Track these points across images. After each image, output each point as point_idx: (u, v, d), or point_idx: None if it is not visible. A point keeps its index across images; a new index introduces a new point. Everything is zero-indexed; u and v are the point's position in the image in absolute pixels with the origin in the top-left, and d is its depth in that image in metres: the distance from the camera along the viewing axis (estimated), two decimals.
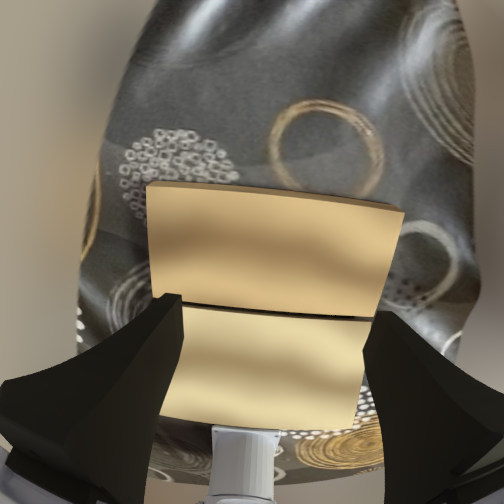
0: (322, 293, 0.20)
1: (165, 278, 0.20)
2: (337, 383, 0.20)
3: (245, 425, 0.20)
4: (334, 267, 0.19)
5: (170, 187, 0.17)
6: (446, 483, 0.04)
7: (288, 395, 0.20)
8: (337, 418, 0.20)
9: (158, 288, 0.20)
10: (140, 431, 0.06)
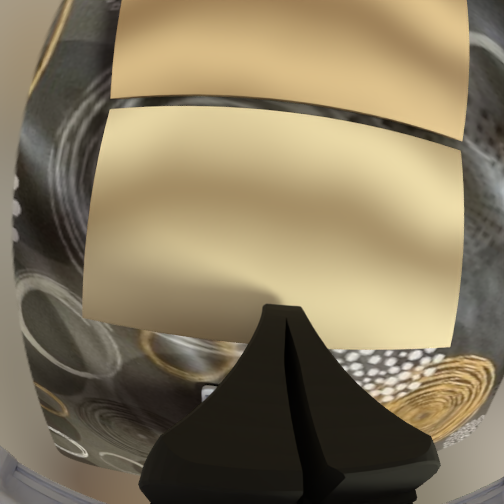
0: (388, 80, 0.10)
1: (134, 59, 0.10)
2: (429, 250, 0.11)
3: None
4: (399, 40, 0.09)
5: None
6: None
7: (348, 270, 0.11)
8: (430, 325, 0.11)
9: (121, 79, 0.10)
10: None
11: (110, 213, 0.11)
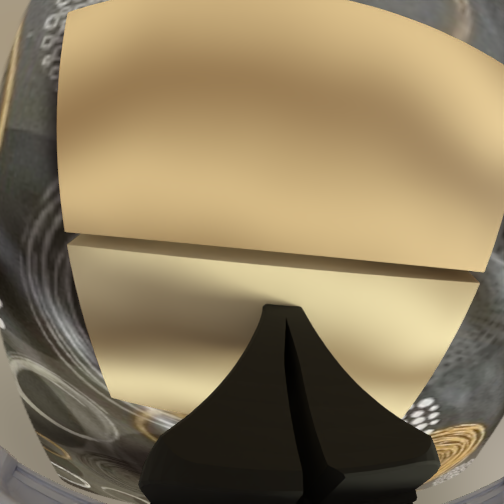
0: (412, 216, 0.08)
1: (82, 185, 0.09)
2: (402, 372, 0.12)
3: None
4: (435, 155, 0.08)
5: (108, 2, 0.06)
6: None
7: None
8: None
9: (72, 211, 0.09)
10: None
11: (109, 344, 0.12)
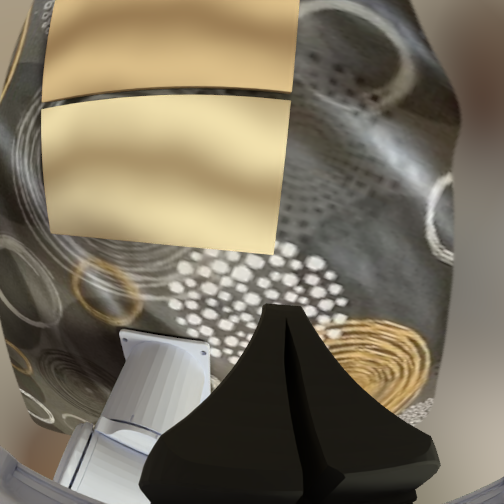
0: (212, 57, 0.13)
1: (54, 75, 0.13)
2: (245, 184, 0.16)
3: (138, 239, 0.18)
4: (223, 24, 0.12)
5: None
6: None
7: (181, 198, 0.17)
8: (250, 236, 0.18)
9: (47, 89, 0.14)
10: None
11: (53, 174, 0.16)
